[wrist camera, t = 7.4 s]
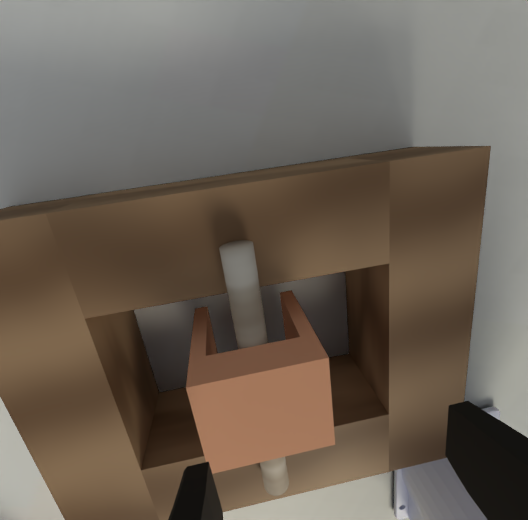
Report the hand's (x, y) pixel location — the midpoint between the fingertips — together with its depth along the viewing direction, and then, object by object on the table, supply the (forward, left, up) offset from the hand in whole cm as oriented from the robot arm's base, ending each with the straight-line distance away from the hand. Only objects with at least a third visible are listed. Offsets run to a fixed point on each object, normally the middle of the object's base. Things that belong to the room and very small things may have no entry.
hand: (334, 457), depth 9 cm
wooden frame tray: (0, +2, -10) cm, 10 cm away
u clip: (0, +2, -8) cm, 8 cm away
